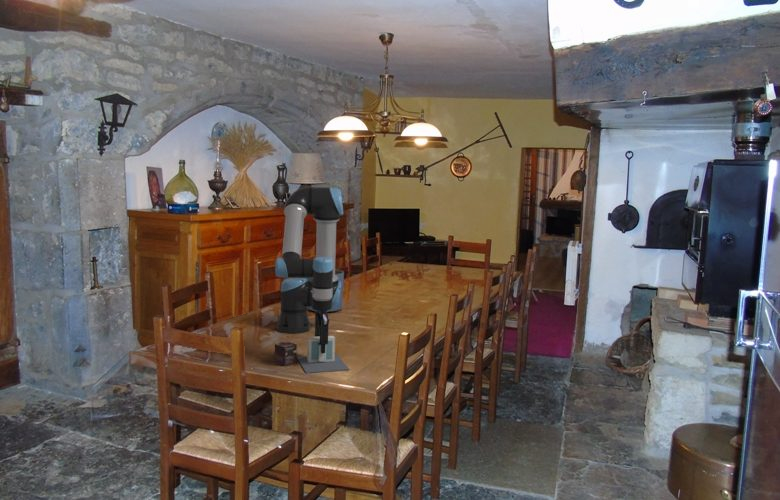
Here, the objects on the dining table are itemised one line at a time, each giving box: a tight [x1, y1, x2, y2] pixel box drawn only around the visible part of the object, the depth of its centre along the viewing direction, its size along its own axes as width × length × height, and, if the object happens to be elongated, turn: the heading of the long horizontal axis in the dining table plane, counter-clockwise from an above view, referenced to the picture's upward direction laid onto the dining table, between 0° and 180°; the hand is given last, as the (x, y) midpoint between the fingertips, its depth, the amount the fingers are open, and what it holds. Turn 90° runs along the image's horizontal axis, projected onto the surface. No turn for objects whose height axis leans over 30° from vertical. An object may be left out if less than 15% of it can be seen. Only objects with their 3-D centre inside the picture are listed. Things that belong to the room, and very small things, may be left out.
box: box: [274, 341, 298, 367], centre depth 232 cm, size 6×6×7 cm
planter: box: [307, 268, 345, 313], centre depth 318 cm, size 19×19×20 cm
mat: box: [297, 354, 350, 374], centre depth 233 cm, size 18×16×1 cm
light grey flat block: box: [306, 335, 336, 362], centre depth 235 cm, size 3×10×9 cm, turn 109°
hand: (320, 358), depth 235 cm, fingers open, 4 cm apart
